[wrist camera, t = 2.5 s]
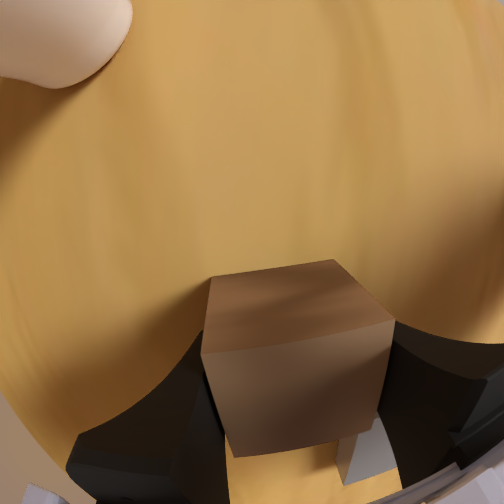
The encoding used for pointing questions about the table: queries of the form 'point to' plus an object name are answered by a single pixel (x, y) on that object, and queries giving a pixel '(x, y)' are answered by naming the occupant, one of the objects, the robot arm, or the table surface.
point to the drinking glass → (60, 38)
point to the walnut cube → (294, 356)
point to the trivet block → (365, 454)
